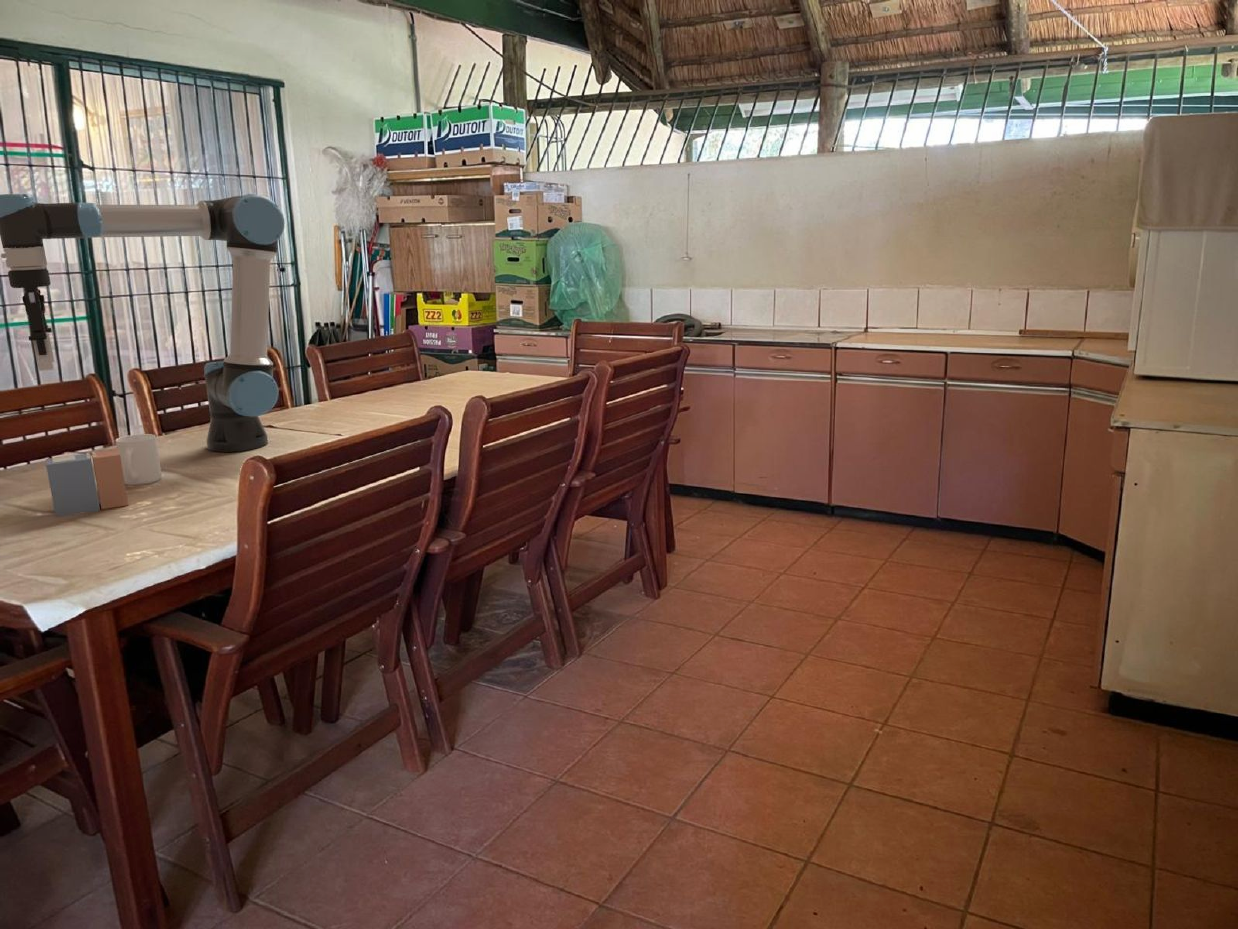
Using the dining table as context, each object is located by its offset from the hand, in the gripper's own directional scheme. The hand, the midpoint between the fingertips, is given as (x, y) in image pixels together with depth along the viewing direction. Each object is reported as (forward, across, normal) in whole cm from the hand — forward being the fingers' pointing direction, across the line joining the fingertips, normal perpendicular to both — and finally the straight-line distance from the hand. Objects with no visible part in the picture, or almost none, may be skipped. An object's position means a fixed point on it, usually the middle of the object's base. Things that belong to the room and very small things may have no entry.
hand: (46, 366), depth 205 cm
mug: (+28, +7, +14) cm, 32 cm away
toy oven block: (+28, +23, +1) cm, 36 cm away
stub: (+28, +23, +8) cm, 37 cm away
